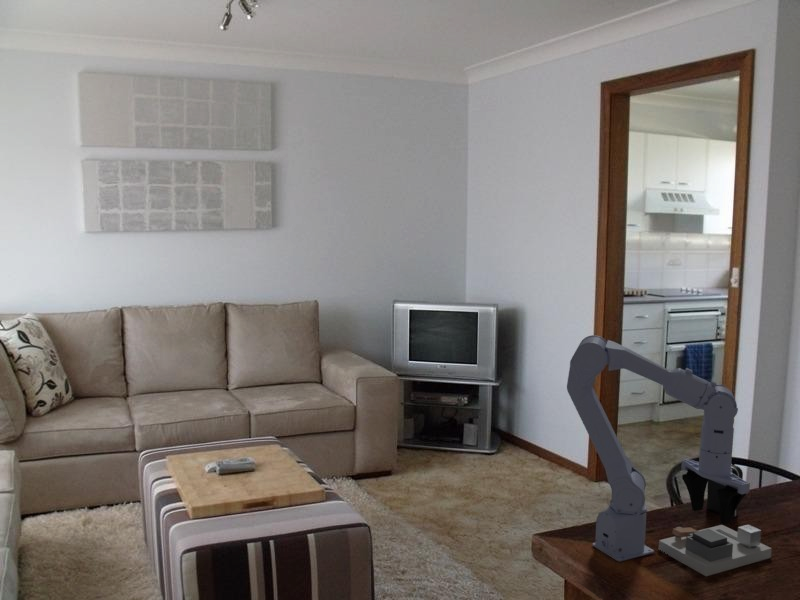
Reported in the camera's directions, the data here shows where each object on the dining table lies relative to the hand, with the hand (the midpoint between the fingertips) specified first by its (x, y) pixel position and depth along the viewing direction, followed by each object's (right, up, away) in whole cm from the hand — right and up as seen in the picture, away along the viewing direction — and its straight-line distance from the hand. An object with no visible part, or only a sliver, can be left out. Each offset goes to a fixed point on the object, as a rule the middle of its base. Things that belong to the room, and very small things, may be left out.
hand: (711, 516), depth 145 cm
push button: (0, -6, +1) cm, 6 cm away
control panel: (+3, -9, +5) cm, 10 cm away
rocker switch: (-3, -5, +6) cm, 8 cm away
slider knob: (+9, -7, +4) cm, 12 cm away
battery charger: (+14, -7, +25) cm, 30 cm away
